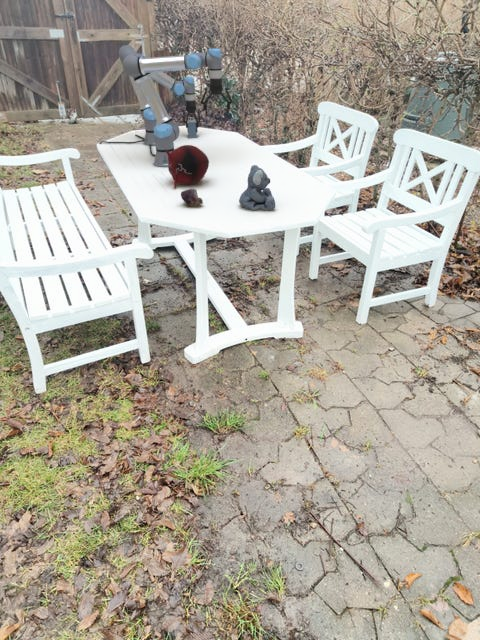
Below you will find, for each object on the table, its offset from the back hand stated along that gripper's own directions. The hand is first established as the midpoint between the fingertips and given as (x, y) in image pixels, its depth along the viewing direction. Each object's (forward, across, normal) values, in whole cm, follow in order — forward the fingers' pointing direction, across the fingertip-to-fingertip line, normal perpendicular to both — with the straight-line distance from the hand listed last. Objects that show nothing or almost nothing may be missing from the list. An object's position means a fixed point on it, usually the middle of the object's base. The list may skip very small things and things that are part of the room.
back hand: (192, 132), depth 356 cm
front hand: (-24, -20, +68) cm, 75 cm away
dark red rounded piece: (+3, -3, +116) cm, 116 cm away
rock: (+3, -6, +154) cm, 154 cm away
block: (+3, 0, 0) cm, 3 cm away
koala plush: (+3, -39, +158) cm, 162 cm away
